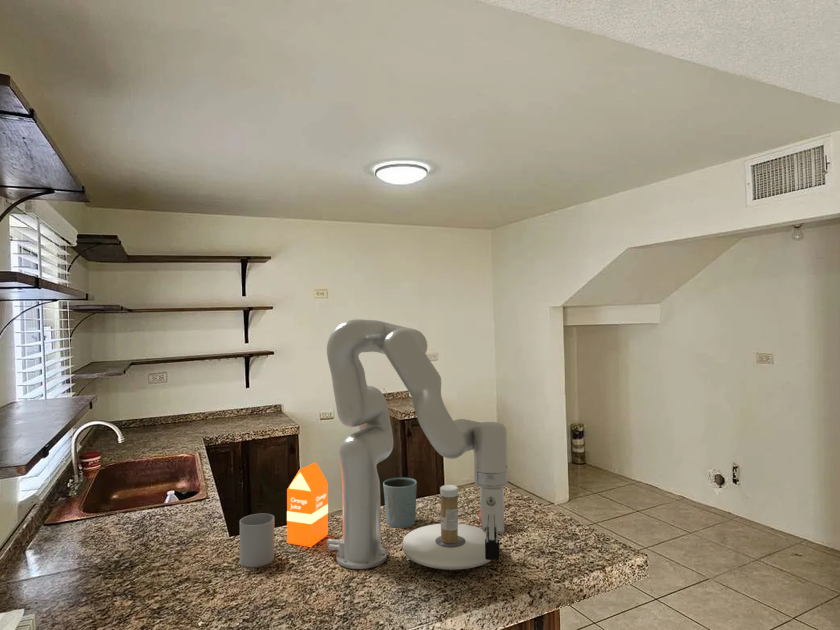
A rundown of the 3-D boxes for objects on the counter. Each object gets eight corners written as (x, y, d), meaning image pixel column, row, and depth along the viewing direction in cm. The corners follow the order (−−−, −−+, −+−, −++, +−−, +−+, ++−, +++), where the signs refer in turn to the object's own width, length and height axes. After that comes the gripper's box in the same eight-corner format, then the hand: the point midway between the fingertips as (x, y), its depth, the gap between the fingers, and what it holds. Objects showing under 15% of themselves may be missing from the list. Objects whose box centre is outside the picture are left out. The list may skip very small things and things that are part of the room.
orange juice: (286, 543, 138) (286, 468, 139) (304, 530, 146) (304, 460, 147) (311, 547, 135) (311, 471, 136) (328, 534, 144) (328, 462, 144)
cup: (280, 559, 128) (280, 519, 129) (250, 570, 122) (250, 528, 123) (263, 549, 134) (263, 511, 135) (233, 560, 128) (233, 519, 129)
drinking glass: (416, 529, 147) (416, 487, 148) (381, 529, 147) (381, 487, 148) (417, 516, 157) (417, 476, 158) (384, 516, 157) (384, 477, 158)
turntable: (394, 574, 119) (394, 542, 119) (411, 534, 143) (411, 507, 143) (498, 581, 115) (498, 547, 116) (498, 538, 139) (498, 510, 139)
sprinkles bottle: (439, 537, 131) (439, 484, 132) (456, 536, 132) (456, 484, 132) (442, 544, 127) (441, 490, 127) (460, 544, 127) (459, 489, 128)
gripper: (508, 487, 109) (509, 574, 109) (506, 469, 124) (508, 545, 124) (472, 486, 110) (474, 572, 110) (475, 468, 125) (477, 544, 125)
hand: (492, 558), depth 117 cm, fingers closed
